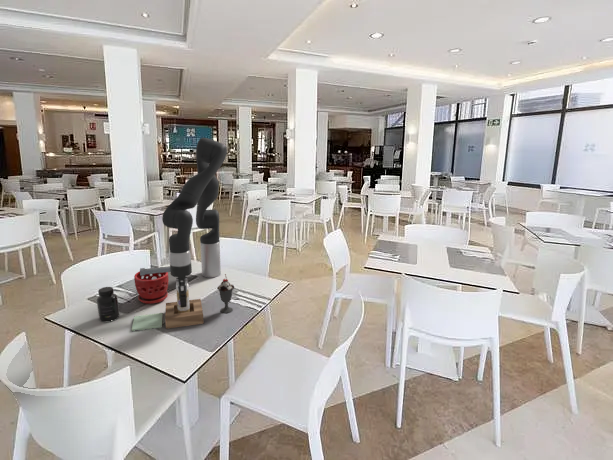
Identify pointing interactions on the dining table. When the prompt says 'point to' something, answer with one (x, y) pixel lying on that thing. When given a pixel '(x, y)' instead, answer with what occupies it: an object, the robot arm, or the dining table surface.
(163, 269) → the bar
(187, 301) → the sprinkles bottle
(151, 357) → the dining table surface
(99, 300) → the supplement bottle
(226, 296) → the sundae
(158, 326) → the green mat
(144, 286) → the plant pot
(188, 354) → the dining table surface
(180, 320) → the walnut dock
